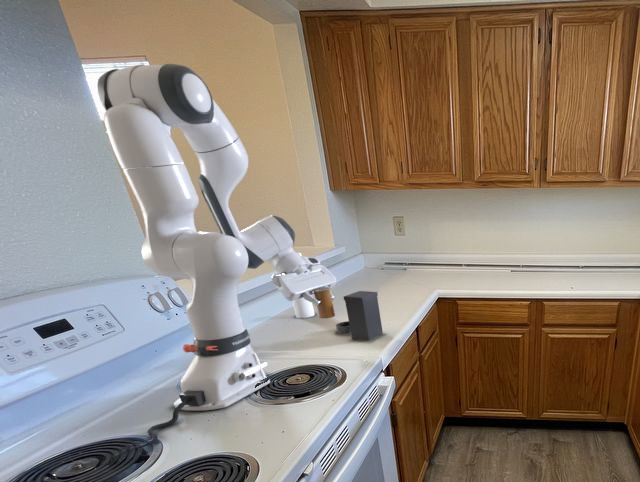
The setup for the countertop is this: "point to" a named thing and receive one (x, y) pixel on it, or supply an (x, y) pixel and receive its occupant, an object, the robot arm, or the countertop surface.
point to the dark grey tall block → (363, 315)
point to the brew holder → (343, 328)
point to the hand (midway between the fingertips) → (325, 301)
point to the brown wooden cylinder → (324, 302)
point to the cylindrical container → (303, 307)
